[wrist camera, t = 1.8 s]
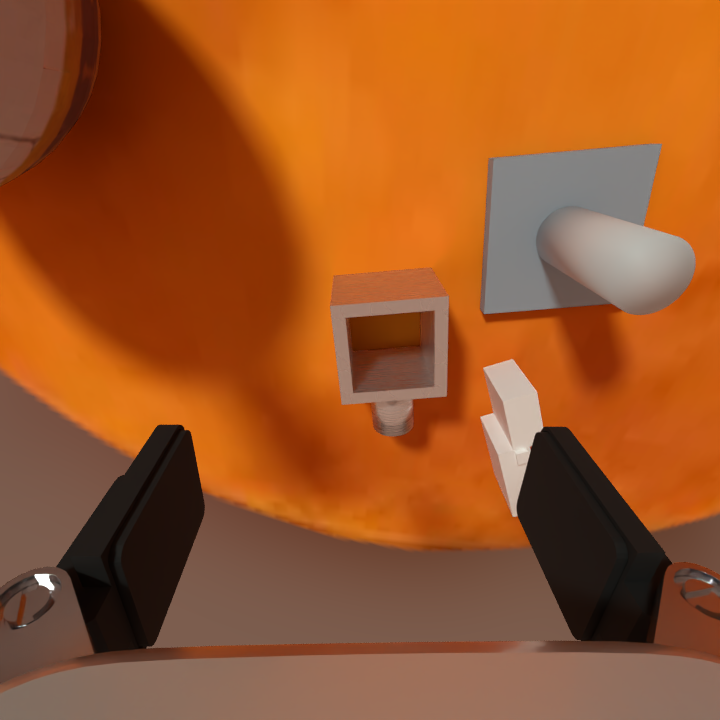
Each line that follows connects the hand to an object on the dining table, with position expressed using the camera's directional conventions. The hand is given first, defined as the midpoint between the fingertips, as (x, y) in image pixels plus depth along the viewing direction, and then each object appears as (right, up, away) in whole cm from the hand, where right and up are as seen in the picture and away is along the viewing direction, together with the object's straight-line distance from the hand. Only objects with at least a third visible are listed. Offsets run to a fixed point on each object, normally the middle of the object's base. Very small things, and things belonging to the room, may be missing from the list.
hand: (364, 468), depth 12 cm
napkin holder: (+12, -1, +25) cm, 28 cm away
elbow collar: (+2, +5, +20) cm, 21 cm away
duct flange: (+13, +12, +17) cm, 24 cm away
